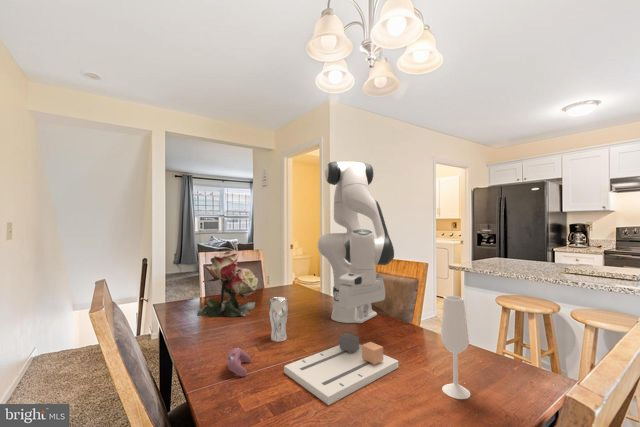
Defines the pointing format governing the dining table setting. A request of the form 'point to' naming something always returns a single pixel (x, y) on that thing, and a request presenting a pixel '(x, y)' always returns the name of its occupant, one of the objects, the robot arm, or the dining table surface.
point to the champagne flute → (454, 340)
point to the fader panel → (337, 372)
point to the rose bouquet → (229, 287)
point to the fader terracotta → (372, 352)
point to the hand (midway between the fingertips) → (363, 317)
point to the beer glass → (278, 318)
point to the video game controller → (238, 361)
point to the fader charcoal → (349, 342)
